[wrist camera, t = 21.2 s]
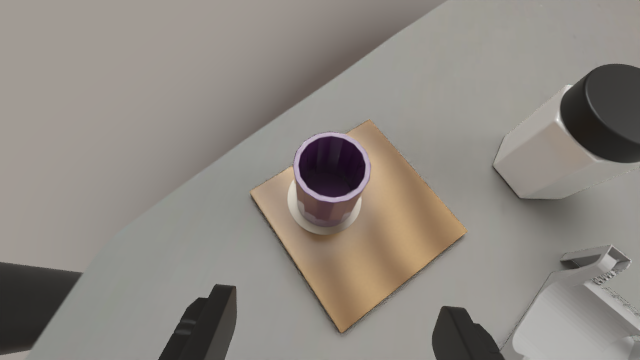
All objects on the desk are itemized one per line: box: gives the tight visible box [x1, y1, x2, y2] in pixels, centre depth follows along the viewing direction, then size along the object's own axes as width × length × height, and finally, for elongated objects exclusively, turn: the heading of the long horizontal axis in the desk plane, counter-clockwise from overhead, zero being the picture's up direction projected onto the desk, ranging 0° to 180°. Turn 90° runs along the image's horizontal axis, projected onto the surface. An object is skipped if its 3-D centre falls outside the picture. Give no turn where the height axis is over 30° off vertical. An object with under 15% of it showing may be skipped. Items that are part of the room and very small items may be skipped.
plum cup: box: [293, 132, 371, 227], centre depth 27 cm, size 6×6×8 cm
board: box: [249, 119, 467, 333], centre depth 31 cm, size 16×16×1 cm
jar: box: [493, 64, 640, 199], centre depth 29 cm, size 9×8×12 cm
